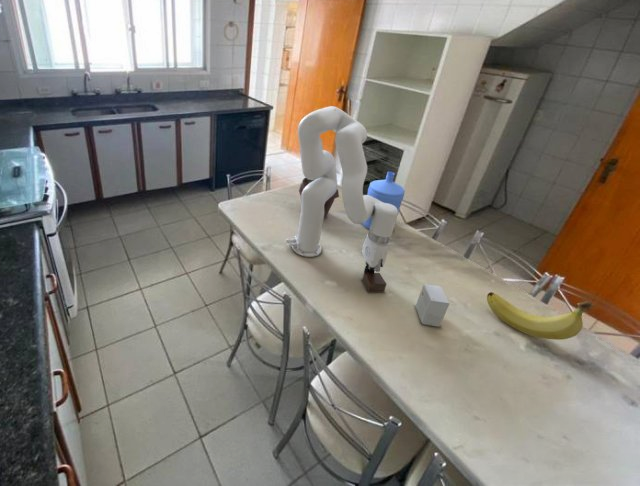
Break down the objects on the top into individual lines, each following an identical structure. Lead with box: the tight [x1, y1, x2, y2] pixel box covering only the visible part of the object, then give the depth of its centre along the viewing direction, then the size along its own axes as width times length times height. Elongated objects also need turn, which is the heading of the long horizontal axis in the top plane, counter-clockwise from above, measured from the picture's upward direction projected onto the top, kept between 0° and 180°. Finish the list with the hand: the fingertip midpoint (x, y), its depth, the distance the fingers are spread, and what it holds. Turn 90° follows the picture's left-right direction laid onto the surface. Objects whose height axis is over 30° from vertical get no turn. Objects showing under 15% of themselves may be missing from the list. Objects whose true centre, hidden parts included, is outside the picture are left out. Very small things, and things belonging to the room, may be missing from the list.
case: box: [298, 177, 340, 220], centre depth 165 cm, size 18×20×18 cm
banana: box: [486, 292, 594, 341], centre depth 104 cm, size 23×6×20 cm, turn 36°
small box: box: [415, 283, 450, 328], centre depth 109 cm, size 8×6×10 cm
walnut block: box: [361, 272, 387, 293], centre depth 122 cm, size 6×6×4 cm
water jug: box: [361, 171, 406, 230], centre depth 156 cm, size 16×16×28 cm
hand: (368, 274), depth 127 cm, fingers closed
